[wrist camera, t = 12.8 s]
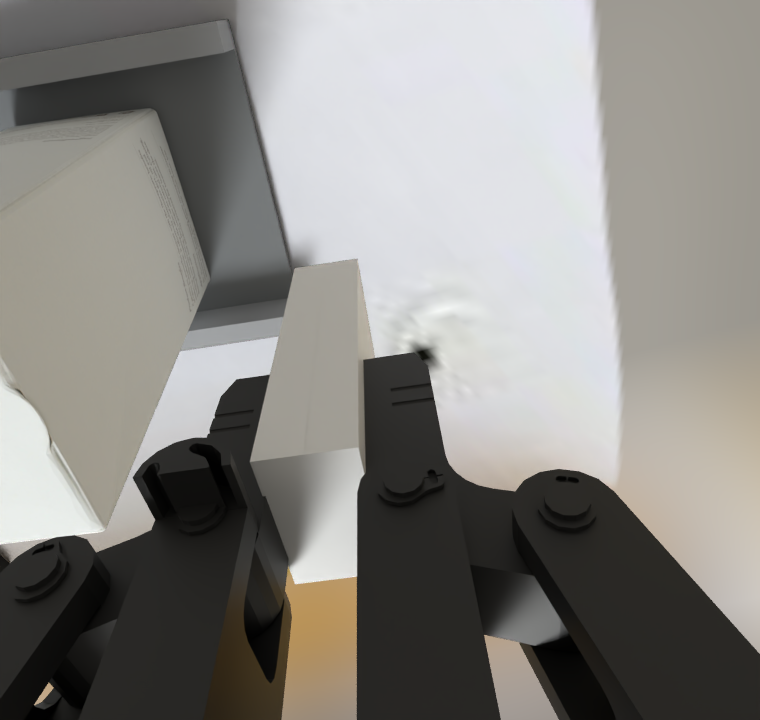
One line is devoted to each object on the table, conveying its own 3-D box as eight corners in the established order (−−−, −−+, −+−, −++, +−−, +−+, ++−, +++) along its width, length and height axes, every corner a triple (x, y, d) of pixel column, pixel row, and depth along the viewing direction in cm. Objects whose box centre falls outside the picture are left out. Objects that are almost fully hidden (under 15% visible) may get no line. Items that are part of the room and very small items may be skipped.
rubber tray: (-104, 372, 30) (-137, 399, 28) (-301, 111, 22) (-365, 121, 20) (301, 310, 29) (297, 333, 27) (228, 19, 22) (216, 21, 20)
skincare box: (11, 123, 23) (-438, 280, 10) (168, 102, 23) (-75, 233, 10) (91, 303, 27) (-143, 573, 14) (222, 286, 27) (106, 544, 14)
